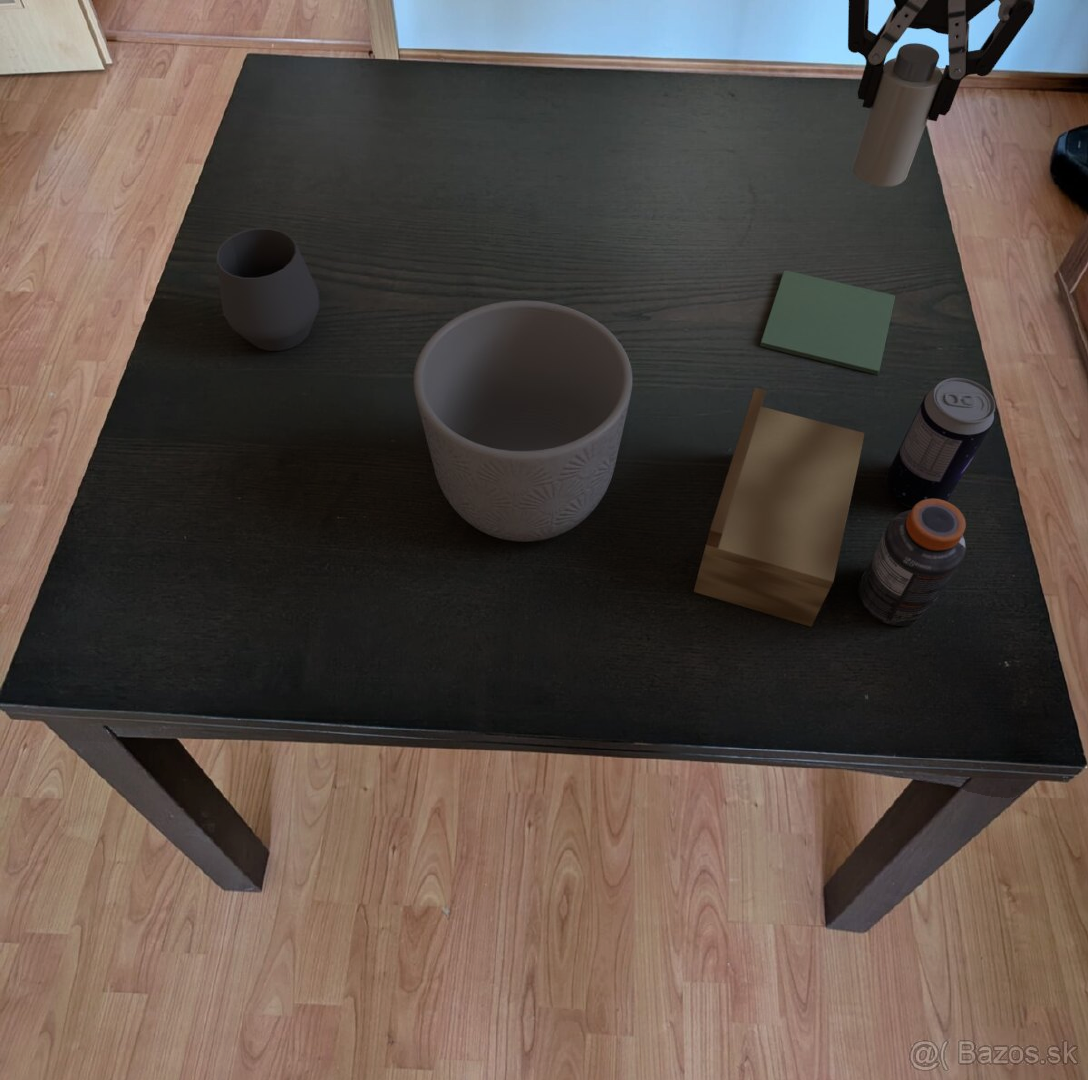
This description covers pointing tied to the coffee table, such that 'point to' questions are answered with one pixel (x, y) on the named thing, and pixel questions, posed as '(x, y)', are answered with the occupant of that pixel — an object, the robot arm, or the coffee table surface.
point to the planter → (523, 415)
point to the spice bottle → (898, 116)
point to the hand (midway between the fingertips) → (900, 108)
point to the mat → (829, 322)
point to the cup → (266, 288)
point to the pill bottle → (913, 562)
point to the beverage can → (941, 441)
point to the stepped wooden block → (781, 514)
